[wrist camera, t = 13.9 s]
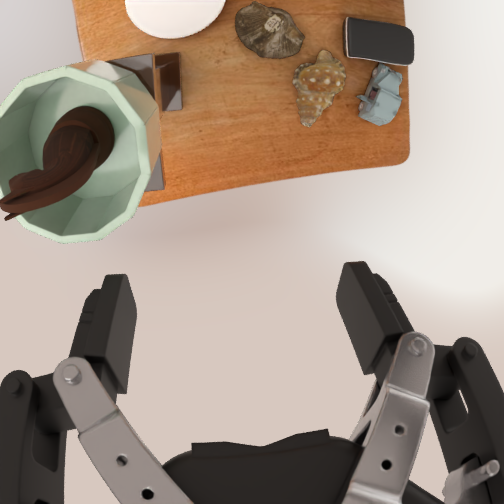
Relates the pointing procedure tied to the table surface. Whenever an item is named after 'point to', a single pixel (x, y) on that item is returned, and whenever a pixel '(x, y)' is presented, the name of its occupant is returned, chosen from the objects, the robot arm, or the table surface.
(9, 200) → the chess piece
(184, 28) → the plastic lid
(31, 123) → the green pedestal cup
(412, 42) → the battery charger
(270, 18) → the fossilized seashell
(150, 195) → the table surface
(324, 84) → the seashell
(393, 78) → the toy car
